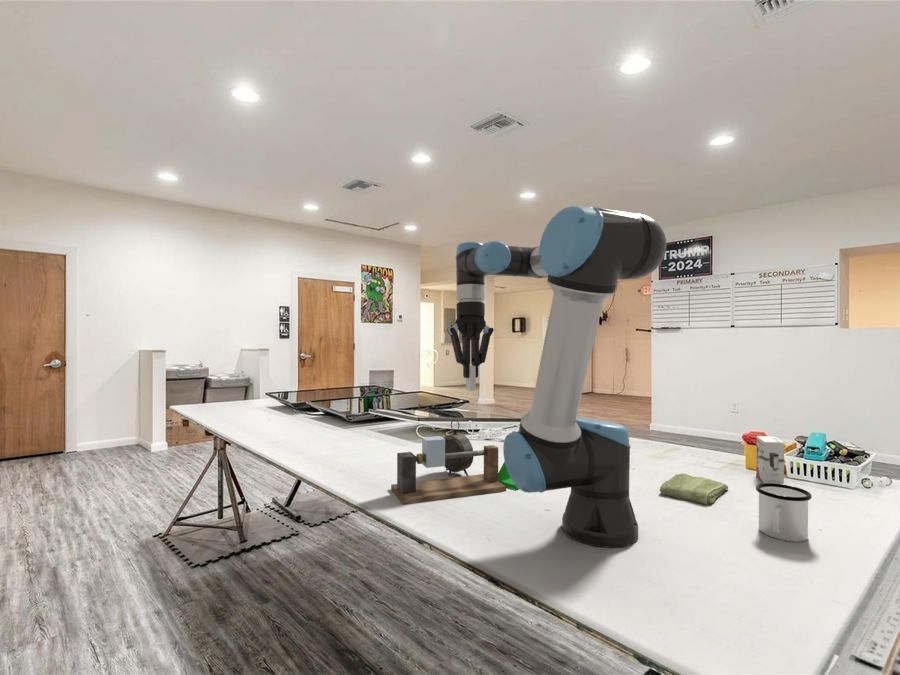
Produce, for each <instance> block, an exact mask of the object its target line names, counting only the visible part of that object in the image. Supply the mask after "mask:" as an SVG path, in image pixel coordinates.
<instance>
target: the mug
mask: <svg viewBox="0 0 900 675" xmlns="http://www.w3.org/2000/svg"><path fill="white" fill-rule="evenodd" d="M755 490H756V491H757V493H758V530H759V531H760V532H762V533H763V534H764V533H765V535H766V536H768V535H769V536H768V537H770V536H771V538H773V537H774V538H773V539H776V538H777V540H781V541H785V540H786V542H793V541H794V542H795V543H798V542H799V541H800V542H803V541H806V540H808V539H809V501H810V500H811V499H812V493H811V492H809V491H808V490H805V489H803V488H801V487H797V486H794V485H788V484H784V485H783V484H775V483H764V482H763V483H758V484H757V485H755Z"/></svg>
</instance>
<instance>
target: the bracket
mask: <svg viewBox="0 0 900 675" xmlns="http://www.w3.org/2000/svg"><path fill="white" fill-rule="evenodd" d="M498 481H499V482H500V483H502V484H503V485H505V486H506V488H510V489H513V490H516V491H519V490H520V489H519V488H518V487H517V486H516V485H515V484H514V483H513V481H512V479H511V478H510V476H509V473H508V471H507V467H506V464H505V460H504V462H503V463H502V466H500V468H499V470H498Z"/></svg>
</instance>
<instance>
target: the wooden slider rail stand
mask: <svg viewBox="0 0 900 675" xmlns="http://www.w3.org/2000/svg"><path fill="white" fill-rule="evenodd" d="M396 455H397V456H396V461H397V462H396V463H397V464H396V465H397V466H396V468H397V470H396V471H397V472H396V483H394V484H391V487H390V490H391V491H392V493H394V495H395V496H396V498H398V500H399V501H400V502H401V504H402V505H409V504H415V503H422V502H431V501H438V500H445V499H452V498H462V497H469V496H476V495H483V494H484V495H485V494H491V493H493V494H494V493H498V492H499V493H500V492H506V491H507V487H506V486H505V485H503V484H502V483H500V482H499V481H498V473H499V447H498V446H496V445H494V444H492V445H483V449H481V450H473V451H467V452H457V453H446V454H445V459H451V458H461V457H471V456H474V457H480V456H483V473H482V474H481V473H480V474H473V475H468V476H466V475H463V476H456V477H448V478H436V479H429V480H428V479H427V480H421V481H417V465H423V464H422V463H423V461H426V455H425V456H422V453H417V454H416V455H415V454H414V453H413V452H411V451H405V452H397V453H396Z"/></svg>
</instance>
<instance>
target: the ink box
mask: <svg viewBox="0 0 900 675" xmlns="http://www.w3.org/2000/svg"><path fill="white" fill-rule="evenodd" d="M755 467H756V469H755V472H756V474H755V475H756V476H757V477H758V478H759V480H761V481H762V482H763V483H775V484H784V485H785V442H784V441H783V440H781V439H780V438H778V437H777V436H767V435H765V436H763V435H756V466H755Z"/></svg>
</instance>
